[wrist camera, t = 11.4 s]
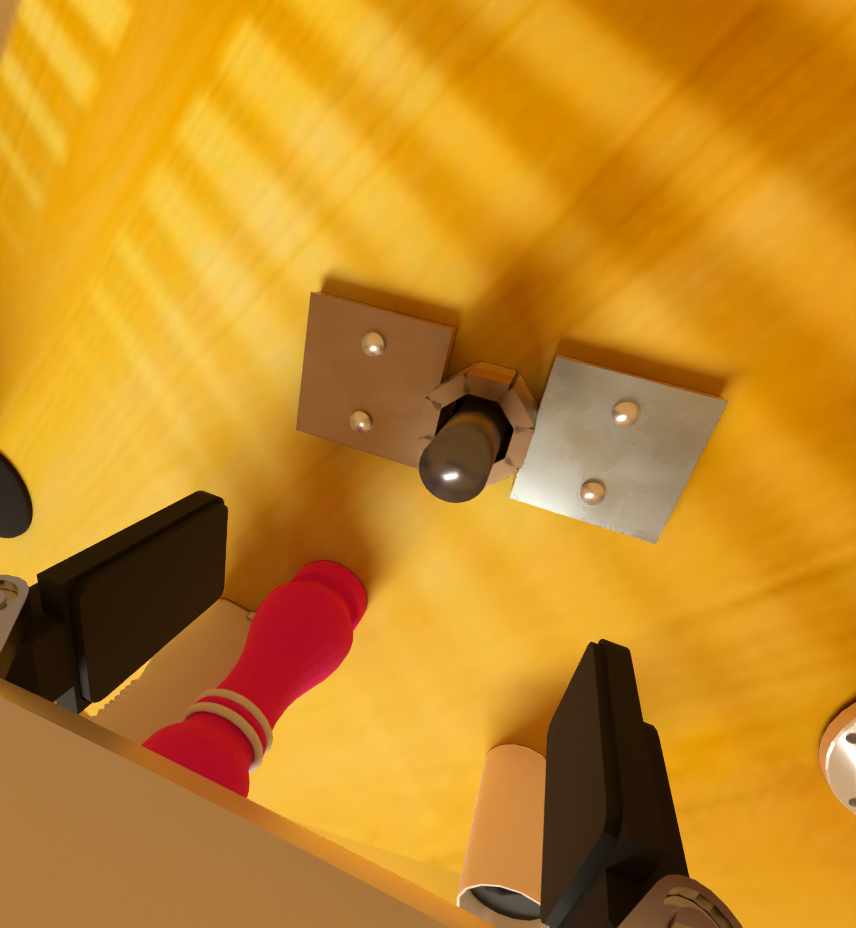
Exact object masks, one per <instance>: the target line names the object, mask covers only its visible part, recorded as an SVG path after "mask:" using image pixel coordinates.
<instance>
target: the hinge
mask: <svg viewBox="0 0 856 928" xmlns="http://www.w3.org/2000/svg"><path fill="white" fill-rule="evenodd" d="M456 330H457V328H456V327H452V326H448V325H444V324H440V323H437V322H433V321H429V320H425V319H421V318H418V317H414V316H410V315H406V314H402V313H398V312H395V311H391V310H387V309H383V308H379V307H376V306H372V305H368V304H364V303H360V302H357V301H353V300H349V299H345V298H341V297H337V296H334V295H330V294H326V293H322V292H311V295H310V305H309V314H308V324H307V333H306V342H305V352H304V361H303V371H302V380H301V390H300V399H299V408H298V418H297V427H296V430H299V431H302V432H305V433H308V434H311V435H314V436H318V437H321V438H324V439H327V440H330V441H333V442H336V443H340V444H343V445H346V446H349V447H352V448H355V449H358V450H361V451H365V452H368V453H371V454H374V455H377V456H380V457H383V458H387V459H390V460H393V461H396V462H399V463H402V464H405V465H409V466H412V467H415V468H418V469H419V461H420V457H421V455H422V452H423V451H424V449H425V448H426V447H427V446H428V444H429V443H430V442H431V441H432V440H433V439H434V437H435V436H436V435H437V434H438V433H439V432H440V430H441V429H442V428H443V427H444V426H445V425H446V423H447V422H448V421H449V420H450V419H451V418H452V414H453V410H454V406H455V402H456V400H457V399H458V398H460V397H462V396H464V395H466V394H467V393H468V394H472V395H475V396H479V397H482V398H486V399H489V400H493V401H496V402H499V404H500V406H501V407H502V409H503V411H504V413H505V414H506V416H507V418H508V420H509V422H510V423H511V425H512V427H513V429H514V432H513V434H512V435H510V436H508V437H506V438H504V439H503V440H502V442H501V445H500V448H499V450H498V453H497V456H496V458H495V461H494V464H493V466H492V469H491V472H490V474H489V477H488V480H487V482H486V485H485V487H488V486H490V485H492V484H494V483H496V482H499V481H501V480H503V479H505V478H507V477H509V476H512V475H514V474H516V473H517V475H516V478H515V481H514V484H513V487H512V490H511V494H510V498H512V499H515V500H518V501H521V502H525V503H528V504H531V505H534V506H537V507H540V508H543V509H546V510H550V511H553V512H556V513H559V514H562V515H565V516H568V517H572V518H575V519H578V520H581V521H584V522H587V523H590V524H594V525H597V526H600V527H603V528H606V529H609V530H612V531H615V532H619V533H622V534H625V535H628V536H631V537H634V538H637V539H641V540H644V541H647V542H650V543H653V544H656V543H657V541H658V539H659V537H660V535H661V533H662V531H663V529H664V527H665V525H666V523H667V521H668V519H669V517H670V515H671V513H672V511H673V509H674V507H675V505H676V503H677V501H678V499H679V497H680V495H681V493H682V491H683V489H684V487H685V486H686V484H687V482H688V480H689V478H690V476H691V474H692V472H693V470H694V468H695V466H696V464H697V462H698V460H699V458H700V456H701V454H702V452H703V450H704V448H705V446H706V444H707V442H708V440H709V438H710V436H711V434H712V432H713V430H714V428H715V427H716V425H717V423H718V421H719V419H720V417H721V415H722V413H723V411H724V409H725V407H726V405H727V403H728V401H726V400H724V399H723V398H721V397H719V396H715V395H711V394H707V393H703V392H700V391H696V390H692V389H688V388H684V387H680V386H677V385H673V384H669V383H665V382H661V381H658V380H654V379H650V378H646V377H642V376H639V375H635V374H631V373H627V372H623V371H620V370H616V369H612V368H608V367H604V366H600V365H597V364H593V363H589V362H585V361H581V360H578V359H574V358H570V357H566V356H562V355H559V354H556V357H555V360H554V363H553V366H552V369H551V372H550V375H549V378H548V381H547V384H546V387H545V390H544V393H543V396H542V399H541V402H540V405H539V408H538V410H537V407H538V405H537V403H536V401H535V400H534V398H533V396H532V394H531V392H530V390H529V389H528V387H527V385H526V383H525V381H524V379H523V378H522V376H521V374H518V375H517V376H515V375H516V372H517V371H516V370H512V369H509V368H505V367H501V366H498V365H494V364H490V363H487V362H483V361H481V362H479V363H477V362H475V363H474V364H472V365H470V366H469V367H467V368H465V369H464V370H462V371H460V372H458V373H457V374H455V375H453V376H452V377H450V378H448V379H447V380H445V377H446V372H447V368H448V364H449V360H450V356H451V351H452V347H453V343H454V339H455V335H456ZM485 487H484V488H485Z"/></svg>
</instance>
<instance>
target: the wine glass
mask: <svg viewBox="0 0 856 928" xmlns="http://www.w3.org/2000/svg"><path fill="white" fill-rule="evenodd" d="M31 519H32V506H31V501H30V498H29V494H28V492H27V489H26V487H25V485H24V483H23V481H22V479H21V478H20V476H19V475H18V473H17V472H16V470H15V469H14V468H13V467H12V465H11V464H10V463H9V462H8V461H7V460H6V459H5V458H4V457H3V456H2V455H1V454H0V537H2V538H14V537H17V536H19V535H21V534H23V533H24V532H26V530H27V529H28V528H29V526H30V523H31Z"/></svg>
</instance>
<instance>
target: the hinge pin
mask: <svg viewBox="0 0 856 928" xmlns="http://www.w3.org/2000/svg"><path fill="white" fill-rule="evenodd" d="M508 424H509V420H508V418H507V416H506V414H505V413H504V411H503V409H502V407H501V406H500V404H499V402H496V401H493V400H489V399H486V398H482V397H479V396H475V395H471V396H470V397H469V398H468V399H467V400H466V401H465V402H464V404H463V405H462V406H461V407H460V408H459V409H458V411H457V412H456V413H455V414H454V415H453V416H452V418H451V419H450V420H449V421H448V422H447V423H446V425H445V426H444V427H443V428H442V429H441V430H440V432H439V433H438V434H437V435H436V436H435V437H434V439H433V440H432V441H431V442H430V443H429V444H428V446H427V447H426V448H425V449H424V451H423V452H422V455H421V457H420V461H419V473H420V477H421V480H422V482H423V484H424V485H425V487H426V488H427V489H428V490H429V491H430V492H431V493H432V494H433V495H434V496H436V497H437V498H439V499H441V500H444V501H447V502H453V503H459V502H465V501H468V500H471V499H473V498H475V497H476V496H477V495H478V494H479V493H480V492H481V491H482V490H483V489H484V487H485V485H486V482H487V480H488V477H489V474H490V472H491V469H492V466H493V464H494V461H495V458H496V456H497V453H498V450H499V448H500V445H501V442H502V440H503V437H504V434H505V432H506V429H507V426H508Z"/></svg>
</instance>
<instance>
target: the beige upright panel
mask: <svg viewBox="0 0 856 928" xmlns="http://www.w3.org/2000/svg"><path fill="white" fill-rule="evenodd" d="M255 613H256V612H250V611H249V610H247V609H245V608H243V607H241V606H239V605H237V604H236V603H234V602H232V601H230V600H228V599H223V598H219V599H218V600H217V601H216V602H215V603H214V604H213V605H212V606H211V607H209V608H208V609H207V610H206V611H205V612H204V613H202V614H201V615H200V616H199V617H198V618H197V619H196V620H194V621H193V622H192V623H191V624H190V625H189V626H187V627H186V628H185V629H184V630H183V631H182V632H181V633H179V634H178V635H177V636H176V637H175V638H174V639H172V640H171V641H170V642H169V643H168V644H167V645H165V646H164V647H163V648H162V649H161V650H160V651H159V652H157V653H156V654H155V655H154V656H153V657H152V659H151V660H150V662H149V664H148V665H147V667H146V668H145V670H144V672H143V673H142V675H141V676H140V678H139V679H136V680H132V681H131V684H130V685H128V686H126V687H125V689H123V690H121V691H120V695H117V696H115V700H110V702H109V704H105V705H104V709H100V710H99V711H98V715H97V716H92V717H91V719H90V721H92V722H94V723H96V724H98V725H100V726H102V727H104V728H106V729H108V730H110V731H112V732H114V733H116V734H118V735H120V736H122V737H124V738H126V739H128V740H130V741H133V742H135V743H137V744H139V745H142V744H143V743H144V742H145V741H146V740H147V739H148V738H149V737H150V736H151V735H153V734H154V733H155V732H157V731H158V730H160V729H162V728H164V727H166V726H169V725H171V724H175V723H180V722H181V720H182V716H183V714H184V712H185V711H186V710H187V709H188V708H189V707H190V706H191V705H193V704H194V703H195V701H196V698H197V697H198V696H199V695H200V694H201V693H203V692H204V691H206V690H210V689H215V688H216V687H217V686H218V685H219V684H220V683H221V682H222V681H224V680H225V678H226V677H227V676H228V674H229V673H230V672H231V670H232V669H233V668H234V667H235V665H236V664H237V662H238V660H239V658H240V656H241V654H242V653H243V650H244V647H245V644H246V640H247V635H248V632H249V628H250V625H251V622H252V620H253V618H254V616H255Z"/></svg>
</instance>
